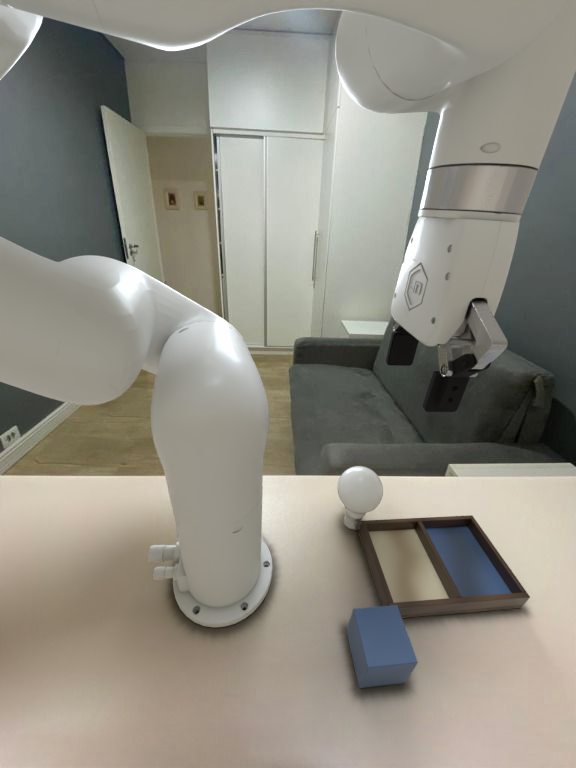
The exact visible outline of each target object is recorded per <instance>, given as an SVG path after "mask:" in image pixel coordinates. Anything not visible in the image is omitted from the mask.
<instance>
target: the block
mask: <svg viewBox="0 0 576 768" xmlns="http://www.w3.org/2000/svg"><path fill="white" fill-rule="evenodd" d="M348 621H349V622H348V624H347V628H346V634H347V639H348V644H349V648H350V653H351V657H352V661H353V662H352V663H353V666H354V671H355V676H356V680H357V685H358V688H359V689H364V688H372V687H381V686H390V685H399V684H406V683H407V681H408V679H409V678H410V677H411V675H412V673H413V672H414V670H415V668H416V667H417V665H418V663H419V662H418V659H417V656H416V654H415V650H414V647H413V645H412V642H411V639H410V636H409V634H408V631H407V628H406V625H405V623H404V620H403V618H402V617H401V614H400V611H399V609H398V606H397V605H391V606H382V605H380V606H367V607H357V608H356V607H354V608H353V609H352V612H351V615H350V617H349V620H348Z"/></svg>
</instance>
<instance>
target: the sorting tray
mask: <svg viewBox="0 0 576 768" xmlns="http://www.w3.org/2000/svg"><path fill="white" fill-rule="evenodd" d="M357 532H358V536H359V539H360V542H361V545H362V548H363V552H364V555H365V557H366V561H367V564H368V567H369V570H370V573H371V576H372V580H373V583H374V585H375V588H376V592H377V595H378V599H379V601H380V605H381V606H391V605H397V606H398V609H399V611H400V614H401V617H402V619H406V618H418V617H419V618H420V617H429V616H441V615H454V614H465V613H477V612H489V611H501V610H511V609H512V610H513V609H522V608H523V607H524V605H525V604H526V603H527V602H528V600H529V599H531V596H530V595H529V593H528V592H527V590H526V589H525V588H524V586H523V584H522V583H521V581H519V578H517V576H516V575H515V574H514V572H513V570H512V569H511V567H509V565H508V563H507V562H506V561H505V559H504V558H503V556H502V555H501V554H500V552H499V551H498V549H497V548H496V547H495V545H494V544H493V542H492V541H491V540H490V538H489V537H488V536H487V534H486V532H485V531H484V530H483V528H482V527H481V525H480V524H479V523H478V521H477V520H476V519H475V517H474V516H473V515H455V516H454V515H450V516H431V517H430V516H428V517H411V518H410V517H409V518H408V517H407V518H389V519H388V518H387V519H366V520H362V521H361V523H360V527H359V528H358V529H357Z"/></svg>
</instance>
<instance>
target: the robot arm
mask: <svg viewBox="0 0 576 768" xmlns="http://www.w3.org/2000/svg"><path fill="white" fill-rule="evenodd" d="M297 10H298V11H299V10H300V11H301V10H330V11H341V13H340V14H341V15H340V17H339V20H338V24H337V25H338V26H337V29H336V35H335V43H334V44H335V46H334V47H335V48H334V54H335V56H334V57H335V64H336V70H337V74H338V77H339V80H340V82H341V85H342V87H343V89H344V90H345V92H346V93H347V95H348V96H349V97H350V99H351V100H353V102H355V103H356V104H357V105H358V106H360V107H361V108H362V109H365V110H367V111H370V112H373V113H378V114H385V115H395V114H396V115H397V114H410V113H437V114H438V115H439V116H440V117H439V121H438V126H437V130H436V134H435V138H434V143H433V148H432V153H431V156H430V160H429V165H428V170H427V174H426V180H425V183H424V188H423V192H422V194H421V195H422V196H421V200H420V205H419V209H418V212H417V217H418V218H417V220H416V223H415V226H414V227H413V231H412V233H411V236H410V239H409V241H408V245H407V247H406V250H405V254H404V257H403V260H402V264H401V267H400V270H399V273H398V279H397V283H396V286H395V289H394V293H393V297H392V301H391V306H390V315H391V317H392V319H393V322H392V323H391V324H392V325H391V330H392V332H391V336H390V340H389V344H388V347H387V348H388V349H387V354H386V357H385V363H386V364H387V366H395V367H396V366H397V367H399V366H403V367H405V366H406V367H409V366H412V365H413V363H414V359H415V356H416V353H417V349H418V345H419V342H420V343H421V344H423V345H424V346H426V347H436V348H437V349H436V350H437V359H438V360H437V361H438V368H439V369H438V370H434V371H432V375H431V378H430V381H429V384H428V387H427V390H426V393H425V396H424V399H423V402H422V409H423V410H424V411H425V412H427V413H454V412H457V410H458V409H459V407H460V405H461V401H462V399H463V397H464V394H465V391H466V389H467V386H468V383H469V381H470V379H471V378H475V377H477V376H478V374H479V373H481V372H484V371H485V370H488V369H489V368H490V366H491V365H492V363H493V362H494V361H495V360H496V359H497V358H498V357H499V356H500V355H501V354H502V353H503V352H504V351H505V350H506V349H507V348H508V343H509V342H508V339H507V337H506V336H505V334H504V332H503V330H502V328H501V327H500V325H499V323H498V321H497V319H496V318H495V314H496V312H497V310H498V307H499V303H500V301H501V297H502V295H503V293H504V289H505V286H506V282H507V279H508V276H509V273H510V267H511V264H512V261H513V258H514V253H515V248H516V244H517V240H518V235H519V229H520V223H521V222H520V221H521V218H522V214H523V213H524V210H525V207H526V204H527V202H528V199H529V197H530V194H531V191H532V189H533V186H534V184H535V181H536V178H537V175H538V171H539V170H540V167H541V163H542V161H543V159H544V157H545V154H546V151H547V148H548V146H549V144H550V141H551V138H552V136H553V133H554V129H555V127H556V124H557V122H558V119H559V117H560V115H561V111H562V110H563V109H562V108H563V106H564V103H565V101H566V98H567V95H568V93H569V90H570V88H571V84H572V82H573V79H574V77H575V74H576V0H0V81H1V80H2V79H3V78H4V77H5V76H6V75H7V74H8V73H9V71H11V69H12V68H13V67H14V66H15V64H17V62H18V61H19V60H20V59H21V57H22V56H23V55H24V53H26V51H27V50H28V48H30V45H31V44H32V42H33V41H34V39H35V37H36V35H37V33H38V31H39V30H40V28H41V26H42V24H43V20H44V18H48V19H51V20H55V21H58V22H62V23H65V24H69V25H72V26H77V27H79V28H84V29H88V30H91V31H94V32H98V33H102V34H105V35H109V36H113V37H116V38H119V39H124V40H126V41H131V42H134V43H138V44H141V45H144V46H148V47H151V48H153V49H158V50H162V51H166V52H176V51H184V50H187V49H192V48H196V47H199V46H202V45H204V44H207V43H209V42H211V41H214V40H215V39H217V38H218V37H221V36H223V35H224V34H226V33H228V32H229V31H232V30H233V29H235V28H237V27H239V26H241V25H243V24H245V23H247V22H250V21H253V20H255V19H259V18H261V17H264V16H268V15H272V14H277V13H283V12H290V11H297ZM453 350H460V351H461V356H459V357H457V358H455V359H454V357H453ZM142 370H143V371H145V372H147V373H150V374H153V375H155V379H154V383H153V387H152V388H153V389H152V395H151V402H150V430H151V438H152V441H153V445H154V448H155V451H156V454H157V456H158V458H159V461H160V464H161V466H162V467H161V468H162V470H163V473H164V477H165V482H166V486H167V490H168V491H167V492H168V495H169V496H168V497H169V501H170V507H171V509H172V513H173V519H174V524H175V529H176V534H177V539H178V541H176V542H175V544H152V545H150V547H149V549H148V553H147V561H148V563H164V562H165V561H173V563H174V565H171V566H166V565H162V566H155V567H154V568H153V572H152V579H153V581H159V580H161V581H162V580H168V579H172V587H173V588H172V589H173V595H174V598H175V600H176V603H177V606H178V607H179V609H180V610H181V612H182V613H183V614H184V615H185V617H186V618H188V619H189V620H191V621H192V622H194V623H195V624H198V625H200V626H203V627H209V628H226V627H229V626H232V625H235V624H237V623H239V622H241V621H243V620H245V619H247V617H249V616H250V615H252V614H253V613H254V612H255V611H256V610H257V609H258V608H259V606H261V604H262V603H263V601H264V599H265V598H266V596H267V594H268V592H269V590H270V587H271V584H272V578H273V558H272V554H271V551H270V548H269V546H268V544H267V543H266V541H265V540H264V538H263V537H262V533H263V532H262V529H263V525H262V524H263V492H264V491H263V490H264V489H263V488H264V487H263V477H264V476H263V475H264V459H265V452H266V446H267V442H268V438H269V431H270V417H271V416H270V407H269V401H268V397H267V393H266V389H265V386H264V383H263V381H262V378H261V374H260V372H259V369H258V367H257V365H256V363H255V360H254V359H253V357H252V354H251V352H250V350H249V347H248V345H247V343H246V340H245V339H244V337H243V336H242V334H241V333H240V332H239V330H238V329H236V327H235V326H233V325H232V324H231V323H230V322H228V321H227V320H226V319H224V318H223V317H221V316H220V315H218V314H216V313H214V312H213V311H211V310H210V309H208V308H206V307H204V306H203V305H201V304H199V303H198V302H196V301H194V300H192V299H191V298H189V297H187V296H185V295H183V294H182V293H180V292H178V291H177V290H175V289H173V288H172V287H170V286H168V285H167V284H165V283H163V282H161V281H160V280H158V279H157V278H155V277H152V276H151V275H149V274H148V273H146V272H144V271H143V270H140V269H138V268H136V267H134V266H132V265H130V264H129V263H126V262H123V261H120V260H118V259H115V258H111V257H107V256H102V255H93V254H91V255H90V254H86V255H78V256H73V257H69V258H66V259H63V260H61V261H55V260H53V259H50V258H47V257H45V256H43V255H40V254H38V253H36V252H33V251H31V250H30V249H27V248H25V247H23V246H21V245H18V244H17V243H14V242H12V241H11V240H9V239H7V238H5V237H3V236H0V383H3V384H6V385H9V386H12V387H15V388H18V389H20V390H24V391H27V392H30V393H32V394H36V395H38V396H42V397H45V398H48V399H52V400H55V401H59V402H64V403H67V404H71V405H76V406H98V405H99V406H100V405H103V404H105V403H108V402H112V401H114V400H116V399H118V398H119V397H121V396H122V395H123V394H124V393H126V392H127V390H129V389H130V387H131V386H132V385H134V382H135V381H136V380H137V378H138V377H139V375H140V373H141V371H142ZM243 609H245V610H243ZM197 612H198V613H197Z"/></svg>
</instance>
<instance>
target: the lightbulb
mask: <svg viewBox="0 0 576 768" xmlns="http://www.w3.org/2000/svg"><path fill="white" fill-rule="evenodd" d="M336 489H337V495H338V498H339V500H340V502H341V503H342V504H343V508H344V516H343V523H344V525H345V526H346V528H348V529H349V530H350V529H351V530H359V527H360V523H361V521H363V518H364V517H365V516H366V514H367V513H371V512H372V511H374V510H376V509H377V507H379V505H380V504H381V502H382V500H383V497H384V486H383V482H382V481H381V479H380V476H378V474H377V473H376V472H375V471H374V470H372V469H371V468H369V467H366V466H362V465H355V466H351V467H349V468H347V469H346V470H344V471H343V472H342V474H341V475H340V476H339V479H338V481H337V486H336Z"/></svg>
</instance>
